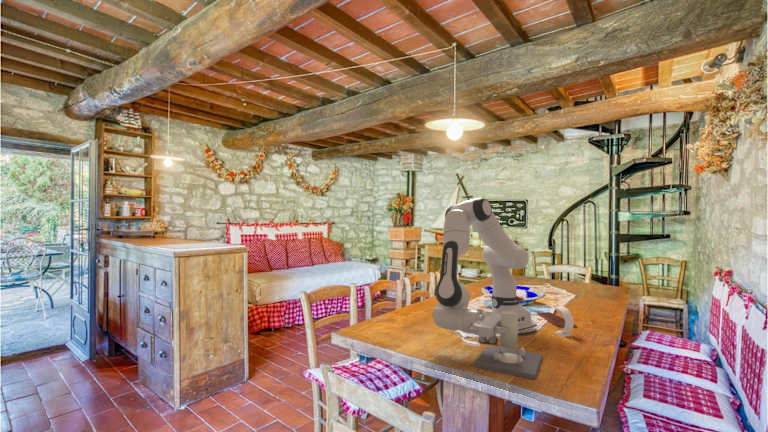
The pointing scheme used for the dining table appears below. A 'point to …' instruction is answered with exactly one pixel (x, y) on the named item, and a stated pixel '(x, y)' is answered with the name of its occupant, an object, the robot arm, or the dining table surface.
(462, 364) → the dining table surface
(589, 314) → the dining table surface
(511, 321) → the canister
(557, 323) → the wooden tablet
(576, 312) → the dining table surface
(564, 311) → the headphone stand
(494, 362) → the peg stand
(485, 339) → the egg carton
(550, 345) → the dining table surface
